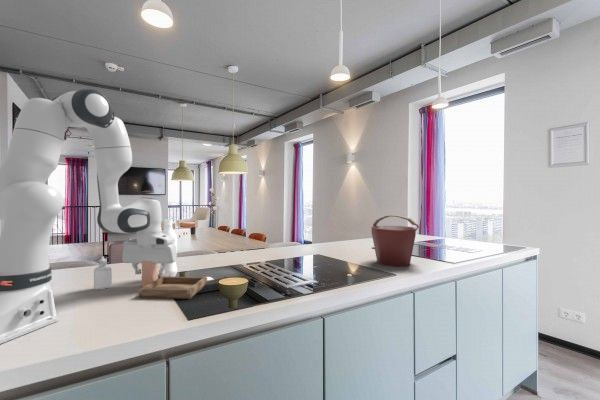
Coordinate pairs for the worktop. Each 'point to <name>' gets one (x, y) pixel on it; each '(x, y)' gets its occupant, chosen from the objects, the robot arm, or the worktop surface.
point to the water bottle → (171, 267)
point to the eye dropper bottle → (102, 275)
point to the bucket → (394, 243)
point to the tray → (173, 287)
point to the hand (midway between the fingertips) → (150, 274)
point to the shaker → (148, 272)
